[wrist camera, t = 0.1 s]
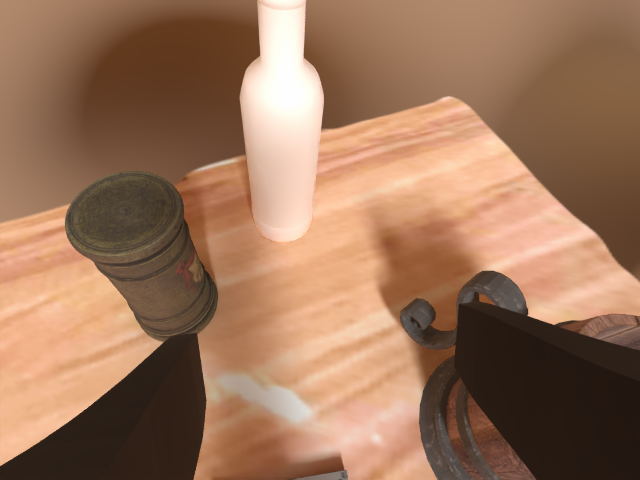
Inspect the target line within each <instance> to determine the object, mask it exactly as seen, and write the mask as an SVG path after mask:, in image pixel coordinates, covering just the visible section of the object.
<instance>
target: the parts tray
mask: <svg viewBox="0 0 640 480" xmlns="http://www.w3.org/2000/svg"><path fill="white" fill-rule="evenodd" d="M291 480H348V475H347V470H344V471H338V472H332V473H326V474H320V475H314V476H309V477H303V478H297V479H291Z"/></svg>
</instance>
